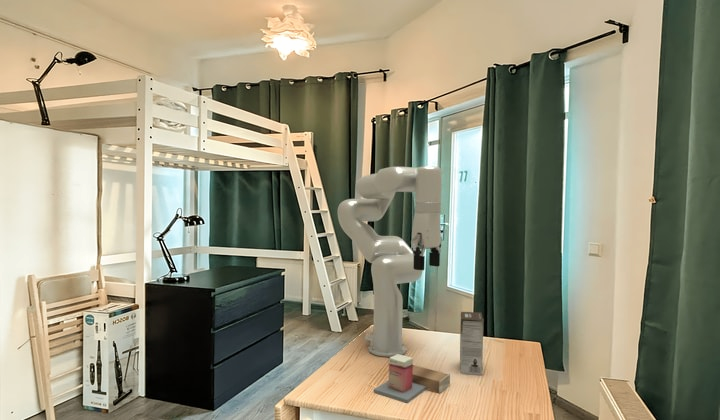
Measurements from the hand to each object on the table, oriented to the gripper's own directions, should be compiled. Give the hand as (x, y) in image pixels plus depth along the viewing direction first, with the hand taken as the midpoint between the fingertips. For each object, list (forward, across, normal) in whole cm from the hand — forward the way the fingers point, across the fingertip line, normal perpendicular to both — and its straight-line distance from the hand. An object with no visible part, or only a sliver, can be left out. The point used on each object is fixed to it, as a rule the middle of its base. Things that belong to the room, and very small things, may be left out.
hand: (426, 267), depth 127 cm
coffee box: (+31, -10, +10) cm, 34 cm away
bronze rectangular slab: (+30, +8, +4) cm, 32 cm away
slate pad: (+30, +16, +1) cm, 34 cm away
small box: (+30, +16, +1) cm, 34 cm away
